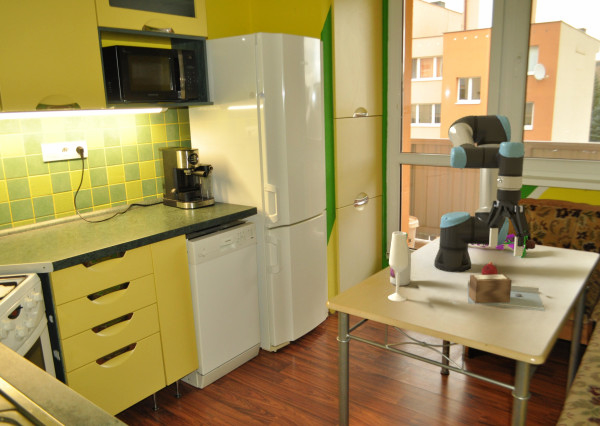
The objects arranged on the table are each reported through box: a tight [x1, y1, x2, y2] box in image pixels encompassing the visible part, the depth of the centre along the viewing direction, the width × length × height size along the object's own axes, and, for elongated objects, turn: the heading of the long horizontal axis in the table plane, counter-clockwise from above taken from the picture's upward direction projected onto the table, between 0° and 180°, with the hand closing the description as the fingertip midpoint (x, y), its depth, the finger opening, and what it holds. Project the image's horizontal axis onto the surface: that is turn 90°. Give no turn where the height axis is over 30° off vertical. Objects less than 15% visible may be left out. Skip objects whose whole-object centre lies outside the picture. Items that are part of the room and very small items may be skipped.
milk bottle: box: [389, 232, 412, 287], centre depth 191 cm, size 8×8×20 cm
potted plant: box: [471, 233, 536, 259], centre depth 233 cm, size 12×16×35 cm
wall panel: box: [467, 279, 546, 312], centre depth 174 cm, size 24×18×3 cm
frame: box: [469, 273, 512, 303], centre depth 172 cm, size 12×6×8 cm, turn 92°
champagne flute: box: [387, 231, 408, 302], centre depth 176 cm, size 7×7×24 cm
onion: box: [481, 261, 499, 275], centre depth 193 cm, size 6×6×8 cm
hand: (505, 251), depth 168 cm, fingers open, 13 cm apart
